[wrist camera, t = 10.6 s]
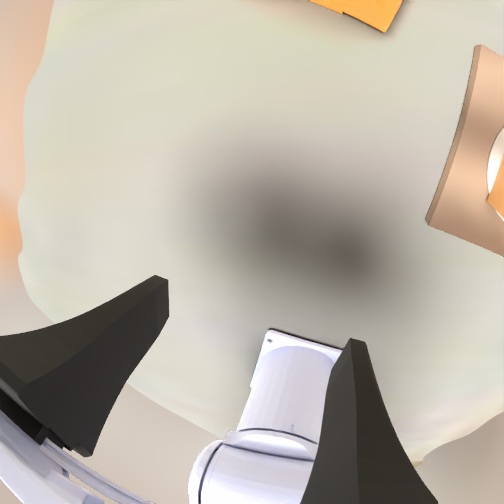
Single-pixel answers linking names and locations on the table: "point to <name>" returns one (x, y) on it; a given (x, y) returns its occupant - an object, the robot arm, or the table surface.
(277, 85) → the table surface
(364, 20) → the bracket
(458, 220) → the post base
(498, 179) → the collar
